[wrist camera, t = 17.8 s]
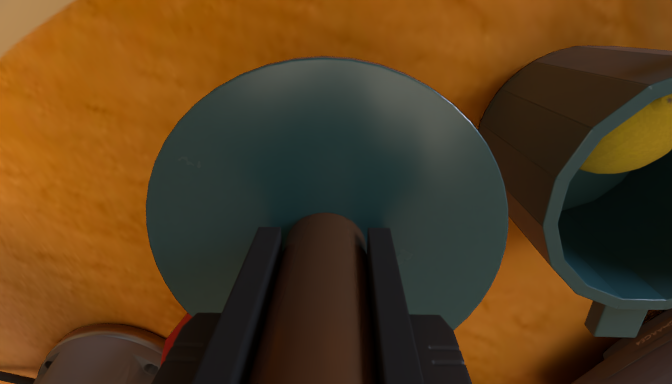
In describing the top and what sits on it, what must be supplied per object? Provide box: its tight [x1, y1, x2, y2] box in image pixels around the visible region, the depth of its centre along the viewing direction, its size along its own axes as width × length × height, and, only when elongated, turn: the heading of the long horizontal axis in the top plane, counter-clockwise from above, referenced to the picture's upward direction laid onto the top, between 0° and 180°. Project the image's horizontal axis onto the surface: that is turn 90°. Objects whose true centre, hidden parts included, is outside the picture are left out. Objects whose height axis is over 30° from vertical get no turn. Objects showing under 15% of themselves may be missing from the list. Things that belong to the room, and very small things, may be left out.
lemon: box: [579, 94, 672, 174], centre depth 21 cm, size 6×6×8 cm
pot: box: [478, 46, 672, 338], centre depth 21 cm, size 12×18×10 cm
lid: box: [146, 56, 508, 384], centre depth 11 cm, size 13×13×9 cm
